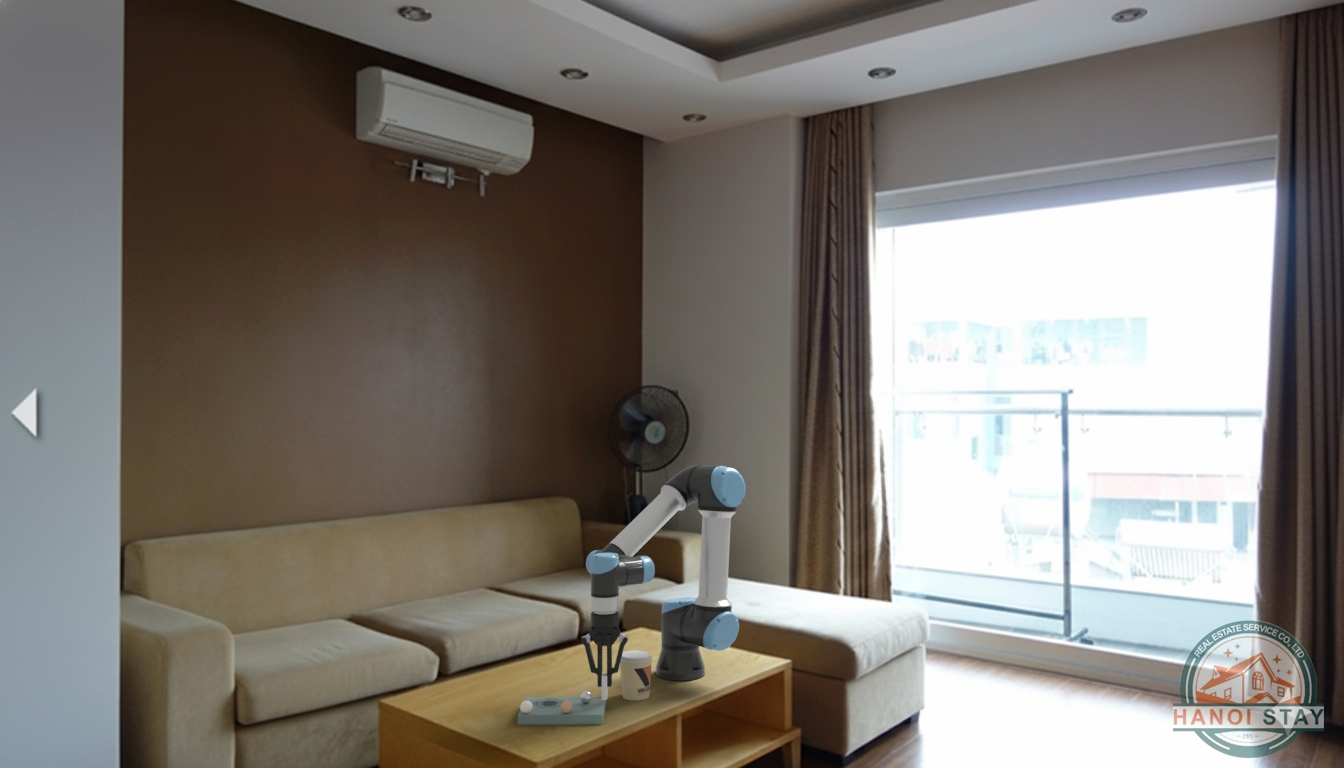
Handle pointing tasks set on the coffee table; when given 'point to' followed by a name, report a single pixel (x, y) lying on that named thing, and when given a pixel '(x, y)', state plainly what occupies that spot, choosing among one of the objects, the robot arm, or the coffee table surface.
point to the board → (551, 714)
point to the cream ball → (526, 706)
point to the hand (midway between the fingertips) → (604, 698)
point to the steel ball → (586, 697)
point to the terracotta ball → (566, 706)
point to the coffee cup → (635, 674)
